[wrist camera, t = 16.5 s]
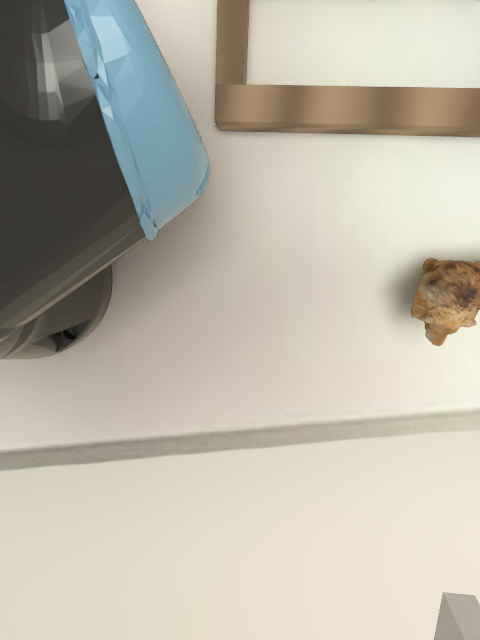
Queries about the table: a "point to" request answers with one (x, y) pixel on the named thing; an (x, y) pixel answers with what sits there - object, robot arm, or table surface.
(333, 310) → the table surface
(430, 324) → the lion figurine
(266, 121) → the slot holder
